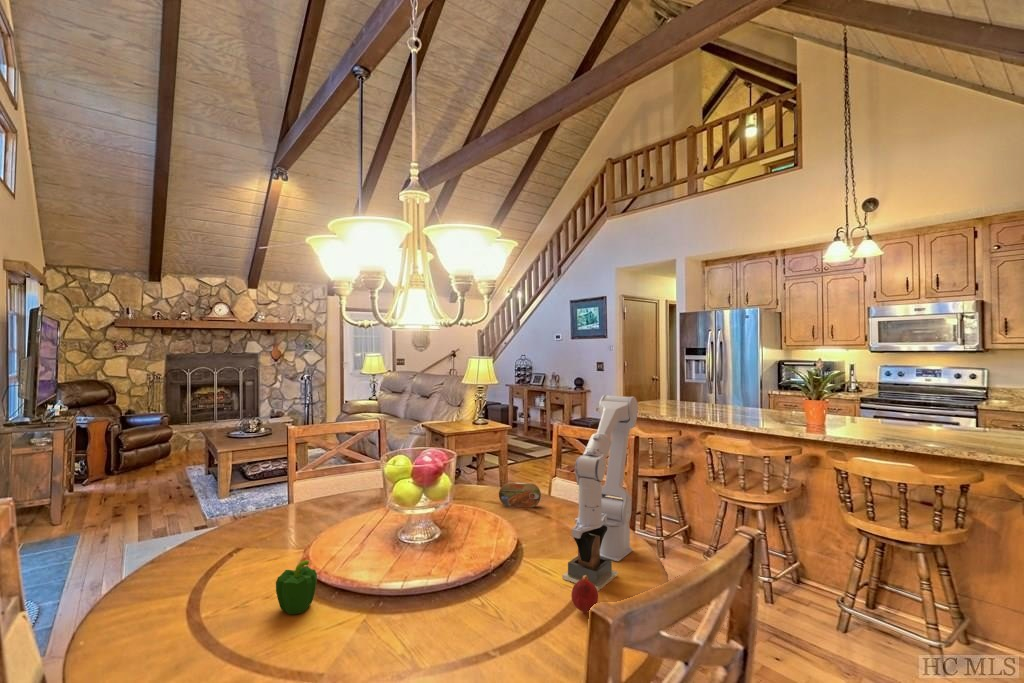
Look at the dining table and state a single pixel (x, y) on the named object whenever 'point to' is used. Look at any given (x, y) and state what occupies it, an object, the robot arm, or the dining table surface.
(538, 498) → the tin
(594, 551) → the rail post
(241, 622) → the dining table surface
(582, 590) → the onion
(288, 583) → the bell pepper
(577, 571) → the grey square socket
